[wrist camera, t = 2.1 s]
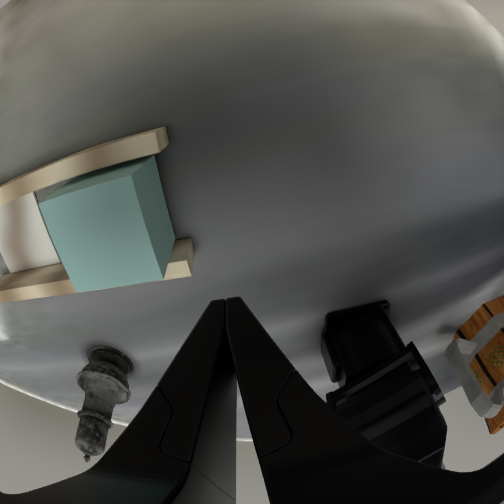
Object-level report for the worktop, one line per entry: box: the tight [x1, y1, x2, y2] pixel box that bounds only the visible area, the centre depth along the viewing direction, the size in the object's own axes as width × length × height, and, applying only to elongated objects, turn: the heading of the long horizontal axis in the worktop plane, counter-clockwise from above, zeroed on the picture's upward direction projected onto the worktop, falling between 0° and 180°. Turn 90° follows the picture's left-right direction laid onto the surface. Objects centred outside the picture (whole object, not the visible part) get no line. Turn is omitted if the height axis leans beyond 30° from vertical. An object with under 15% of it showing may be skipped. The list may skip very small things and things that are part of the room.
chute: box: [0, 126, 195, 303], centre depth 17 cm, size 20×9×3 cm, turn 97°
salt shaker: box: [75, 346, 133, 462], centre depth 21 cm, size 6×6×12 cm
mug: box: [446, 296, 504, 434], centre depth 25 cm, size 20×14×15 cm
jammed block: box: [38, 155, 175, 292], centre depth 16 cm, size 6×6×5 cm
